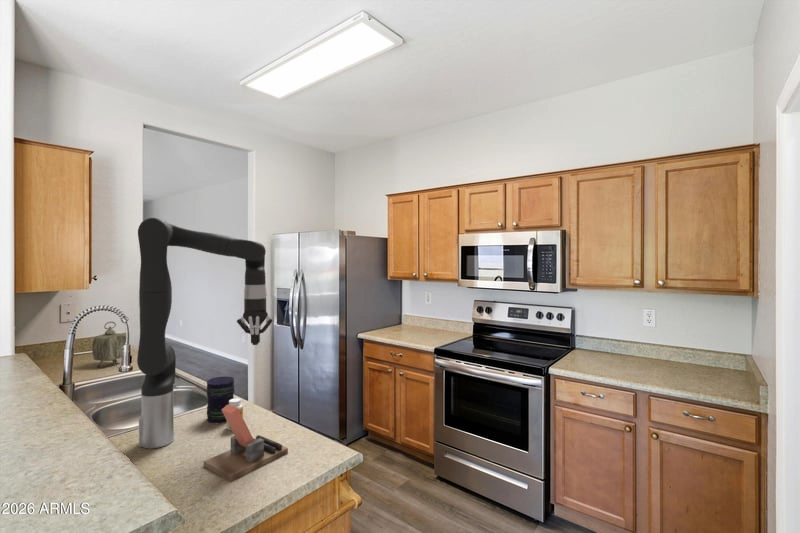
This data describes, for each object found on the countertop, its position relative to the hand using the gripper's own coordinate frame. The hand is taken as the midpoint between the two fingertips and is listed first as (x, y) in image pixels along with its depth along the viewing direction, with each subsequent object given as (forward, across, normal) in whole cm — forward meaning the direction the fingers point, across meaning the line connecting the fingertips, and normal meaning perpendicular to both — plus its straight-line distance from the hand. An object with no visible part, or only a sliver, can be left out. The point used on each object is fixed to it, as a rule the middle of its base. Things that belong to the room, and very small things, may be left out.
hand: (255, 344), depth 145 cm
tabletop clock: (+31, -104, +93) cm, 143 cm away
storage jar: (+31, -16, +11) cm, 37 cm away
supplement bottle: (+31, -8, +2) cm, 32 cm away
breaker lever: (+26, +3, -22) cm, 34 cm away
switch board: (+31, +3, -22) cm, 38 cm away
